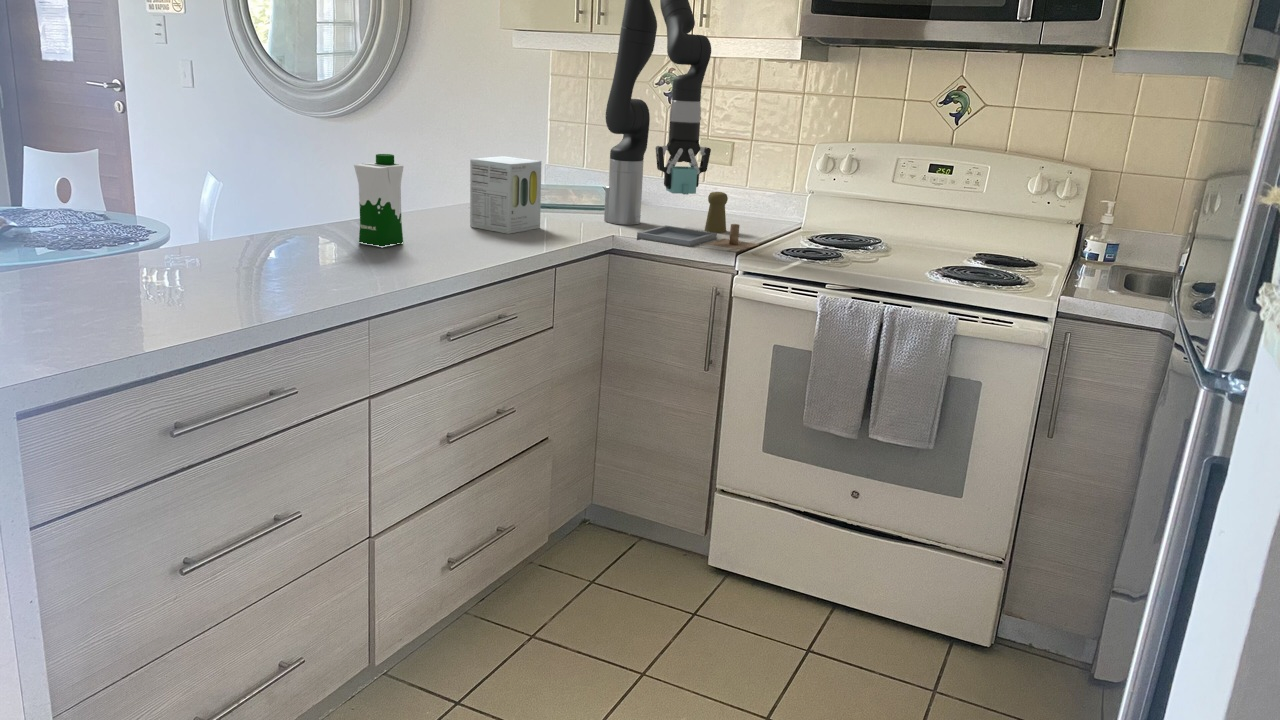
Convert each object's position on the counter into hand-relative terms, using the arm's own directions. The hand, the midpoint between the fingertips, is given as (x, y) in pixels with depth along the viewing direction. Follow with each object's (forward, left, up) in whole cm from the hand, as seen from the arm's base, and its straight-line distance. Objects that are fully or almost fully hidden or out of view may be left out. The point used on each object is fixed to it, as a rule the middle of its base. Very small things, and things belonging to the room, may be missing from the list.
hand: (680, 188), depth 235 cm
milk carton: (-47, -56, -13) cm, 74 cm away
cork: (+2, +18, -13) cm, 22 cm away
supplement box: (-41, -18, -13) cm, 47 cm away
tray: (0, 0, -13) cm, 13 cm away
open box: (0, 0, -1) cm, 1 cm away
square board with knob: (+14, +4, -13) cm, 20 cm away
